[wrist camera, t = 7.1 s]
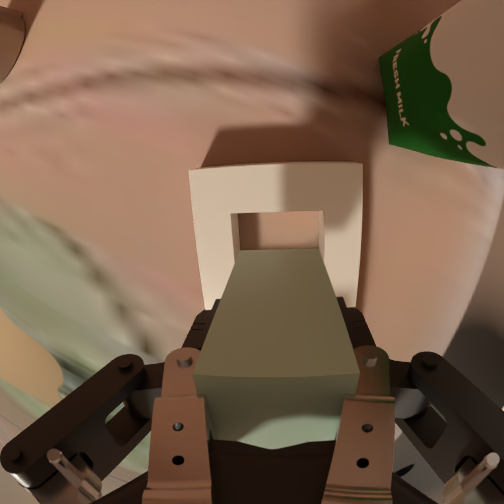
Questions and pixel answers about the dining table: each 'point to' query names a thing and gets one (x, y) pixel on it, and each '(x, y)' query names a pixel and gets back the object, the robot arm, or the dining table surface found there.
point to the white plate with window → (278, 200)
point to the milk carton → (450, 86)
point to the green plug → (277, 352)
